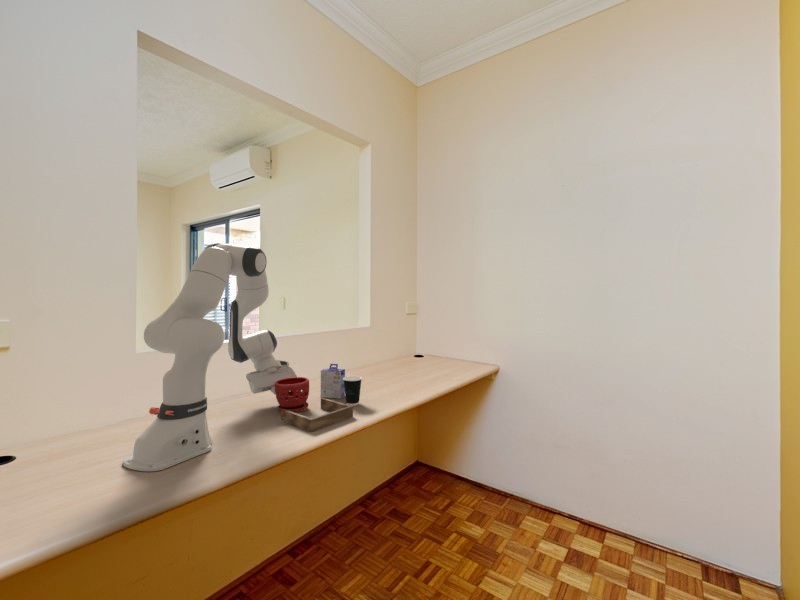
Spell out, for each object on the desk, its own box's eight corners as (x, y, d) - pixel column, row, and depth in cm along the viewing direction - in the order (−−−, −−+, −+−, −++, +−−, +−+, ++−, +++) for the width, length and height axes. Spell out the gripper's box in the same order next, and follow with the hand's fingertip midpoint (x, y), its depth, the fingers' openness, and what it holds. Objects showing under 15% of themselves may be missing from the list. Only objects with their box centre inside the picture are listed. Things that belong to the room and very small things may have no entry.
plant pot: (303, 403, 155) (303, 374, 154) (313, 412, 144) (313, 381, 143) (271, 408, 148) (271, 378, 148) (279, 418, 137) (279, 385, 136)
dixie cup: (359, 400, 159) (359, 375, 159) (364, 405, 151) (364, 379, 151) (341, 402, 156) (341, 376, 156) (345, 408, 149) (345, 380, 148)
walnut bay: (281, 420, 134) (281, 409, 134) (323, 407, 149) (323, 397, 149) (311, 432, 123) (311, 420, 123) (352, 416, 138) (353, 406, 138)
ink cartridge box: (345, 395, 166) (345, 363, 166) (341, 399, 161) (341, 366, 161) (325, 394, 168) (325, 362, 168) (320, 397, 163) (320, 365, 163)
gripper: (247, 368, 146) (261, 397, 140) (291, 361, 162) (305, 386, 156) (241, 377, 149) (254, 406, 143) (285, 369, 165) (298, 395, 159)
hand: (281, 396), depth 150 cm, fingers closed
